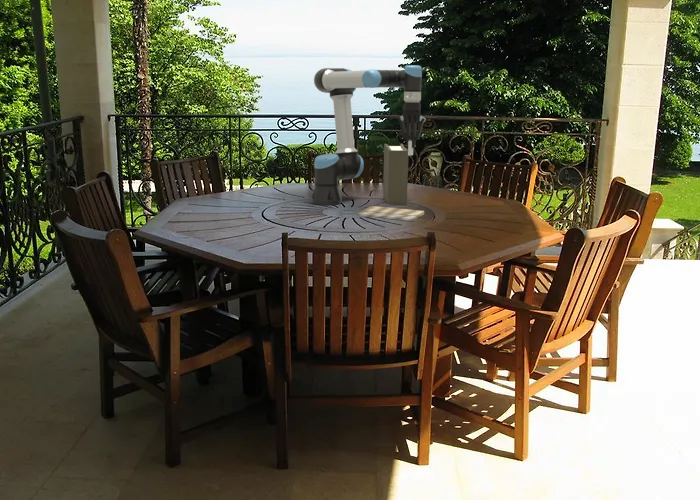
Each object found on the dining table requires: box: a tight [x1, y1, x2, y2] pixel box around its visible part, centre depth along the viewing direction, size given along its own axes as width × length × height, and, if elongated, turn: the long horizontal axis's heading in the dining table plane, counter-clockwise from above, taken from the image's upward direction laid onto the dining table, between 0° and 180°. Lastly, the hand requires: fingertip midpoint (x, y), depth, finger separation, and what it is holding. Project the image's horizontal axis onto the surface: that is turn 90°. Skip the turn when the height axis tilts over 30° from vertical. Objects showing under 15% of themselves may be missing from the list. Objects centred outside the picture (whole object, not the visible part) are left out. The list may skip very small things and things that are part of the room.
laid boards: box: [356, 210, 418, 222], centre depth 292 cm, size 26×6×2 cm, turn 65°
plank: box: [362, 205, 425, 219], centre depth 299 cm, size 26×9×2 cm, turn 65°
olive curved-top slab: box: [382, 143, 410, 207], centre depth 327 cm, size 22×9×28 cm, turn 3°
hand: (410, 155), depth 299 cm, fingers closed
